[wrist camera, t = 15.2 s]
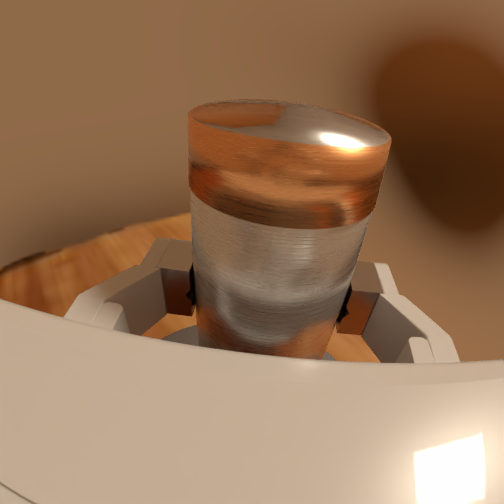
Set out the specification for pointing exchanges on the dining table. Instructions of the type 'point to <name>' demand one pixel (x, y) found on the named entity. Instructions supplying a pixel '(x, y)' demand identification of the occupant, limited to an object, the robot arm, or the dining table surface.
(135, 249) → the dining table surface
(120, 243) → the dining table surface
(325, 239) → the spice shaker
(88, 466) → the robot arm
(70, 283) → the dining table surface
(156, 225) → the dining table surface
